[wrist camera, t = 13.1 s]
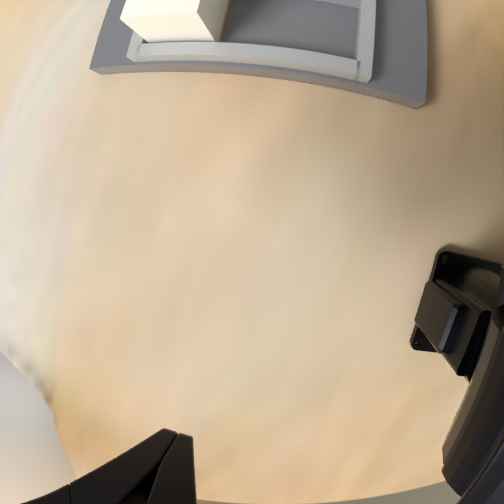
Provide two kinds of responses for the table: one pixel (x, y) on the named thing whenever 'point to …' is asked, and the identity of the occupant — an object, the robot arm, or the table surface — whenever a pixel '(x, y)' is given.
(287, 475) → the table surface
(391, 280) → the table surface
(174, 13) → the tab
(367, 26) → the switch bank
